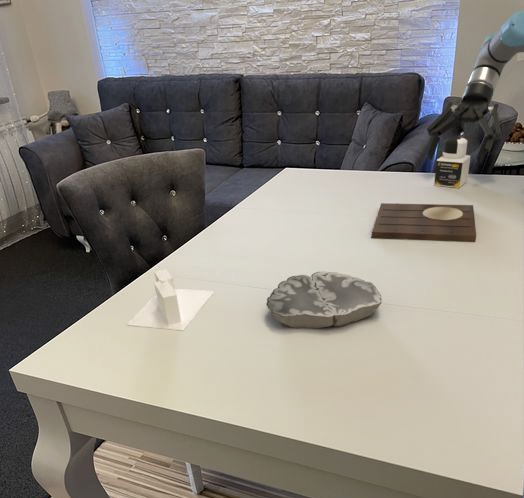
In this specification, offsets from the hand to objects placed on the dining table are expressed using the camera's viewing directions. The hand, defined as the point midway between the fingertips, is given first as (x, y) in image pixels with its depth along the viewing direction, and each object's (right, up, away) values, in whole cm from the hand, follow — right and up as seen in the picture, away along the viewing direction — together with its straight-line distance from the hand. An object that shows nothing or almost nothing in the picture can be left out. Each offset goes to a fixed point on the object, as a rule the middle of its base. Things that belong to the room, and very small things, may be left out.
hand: (453, 159), depth 147 cm
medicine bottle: (0, -6, +3) cm, 7 cm away
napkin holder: (-69, -45, -48) cm, 95 cm away
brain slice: (-42, -45, -52) cm, 81 cm away
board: (-15, -23, -21) cm, 35 cm away
